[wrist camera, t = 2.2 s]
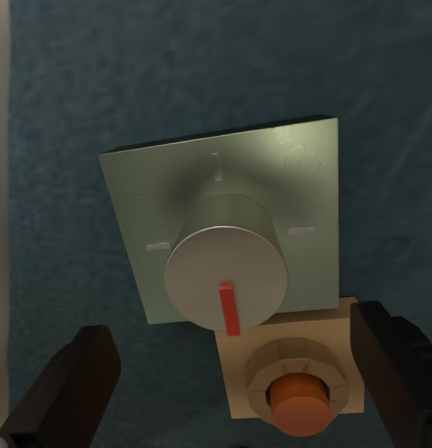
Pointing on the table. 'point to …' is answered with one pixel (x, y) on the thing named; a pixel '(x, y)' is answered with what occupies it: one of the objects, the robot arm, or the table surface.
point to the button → (299, 404)
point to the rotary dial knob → (227, 265)
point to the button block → (292, 360)
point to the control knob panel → (233, 184)
